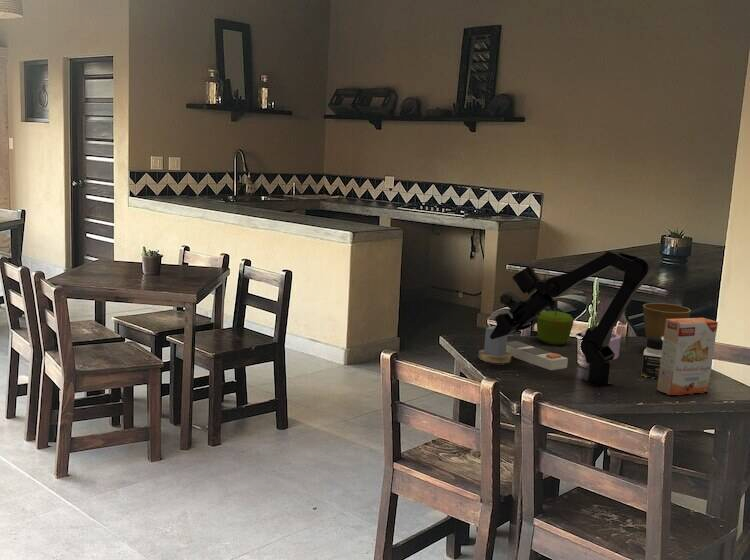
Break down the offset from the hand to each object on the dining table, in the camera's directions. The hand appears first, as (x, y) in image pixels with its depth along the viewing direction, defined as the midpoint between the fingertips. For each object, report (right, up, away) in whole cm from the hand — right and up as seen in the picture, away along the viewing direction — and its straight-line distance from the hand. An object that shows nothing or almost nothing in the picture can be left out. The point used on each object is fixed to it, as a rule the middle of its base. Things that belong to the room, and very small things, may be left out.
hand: (497, 335), depth 247 cm
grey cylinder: (-1, -6, +1) cm, 6 cm away
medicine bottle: (+46, -12, -6) cm, 48 cm away
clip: (+36, -7, +18) cm, 41 cm away
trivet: (-1, -8, +2) cm, 8 cm away
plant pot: (+58, -8, +21) cm, 62 cm away
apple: (+23, -5, +29) cm, 37 cm away
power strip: (+12, -8, +4) cm, 15 cm away
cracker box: (+48, -15, -22) cm, 55 cm away
